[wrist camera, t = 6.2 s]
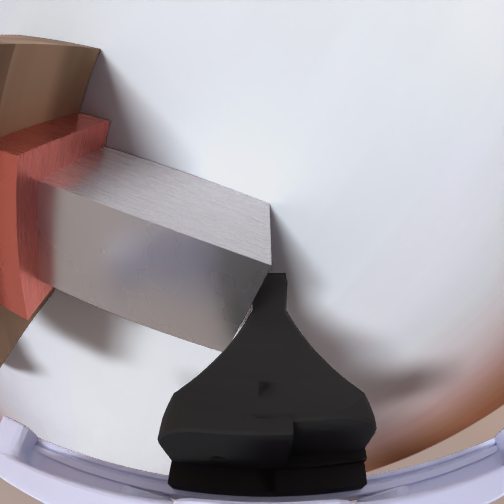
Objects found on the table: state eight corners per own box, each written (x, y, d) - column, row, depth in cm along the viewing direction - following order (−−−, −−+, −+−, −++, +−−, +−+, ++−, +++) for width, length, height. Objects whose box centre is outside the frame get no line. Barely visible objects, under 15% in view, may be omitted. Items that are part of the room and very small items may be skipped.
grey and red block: (280, 179, 10) (292, 254, 6) (227, 295, 13) (212, 394, 9) (-27, 91, 8) (-103, 117, 4) (-32, 190, 11) (-93, 234, 6)
